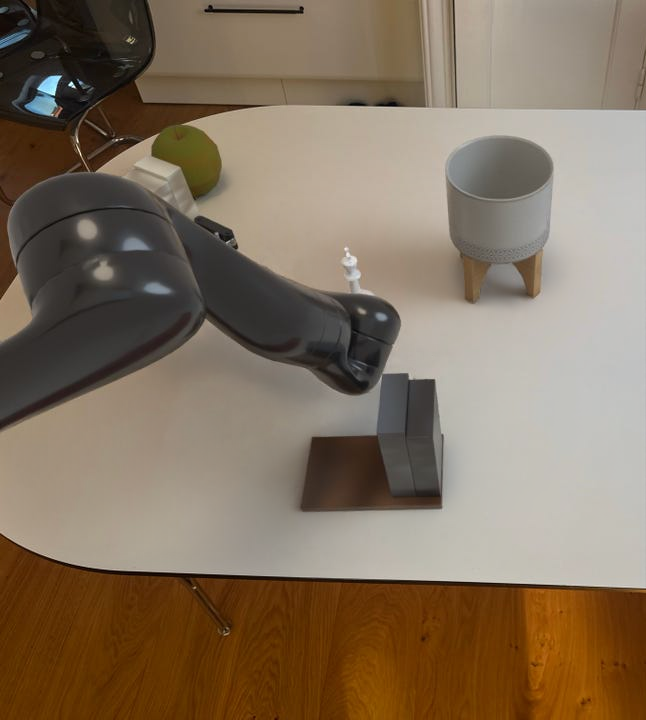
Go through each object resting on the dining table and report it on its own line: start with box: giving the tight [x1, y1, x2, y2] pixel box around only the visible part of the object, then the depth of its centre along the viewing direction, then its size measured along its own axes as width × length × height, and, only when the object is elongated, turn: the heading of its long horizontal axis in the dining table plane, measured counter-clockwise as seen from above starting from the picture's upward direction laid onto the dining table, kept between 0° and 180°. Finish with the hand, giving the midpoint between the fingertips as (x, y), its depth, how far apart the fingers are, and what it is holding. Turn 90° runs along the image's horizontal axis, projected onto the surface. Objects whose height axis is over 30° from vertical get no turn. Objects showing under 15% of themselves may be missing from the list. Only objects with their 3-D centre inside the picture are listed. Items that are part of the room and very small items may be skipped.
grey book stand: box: [299, 372, 445, 513], centre depth 73 cm, size 15×9×13 cm, turn 91°
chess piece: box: [340, 247, 376, 296], centre depth 90 cm, size 5×5×10 cm
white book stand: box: [122, 154, 201, 221], centre depth 94 cm, size 17×9×13 cm, turn 151°
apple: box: [150, 124, 223, 198], centre depth 107 cm, size 10×10×11 cm
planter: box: [444, 134, 555, 304], centre depth 91 cm, size 13×13×18 cm
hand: (131, 245), depth 83 cm, fingers open, 8 cm apart
